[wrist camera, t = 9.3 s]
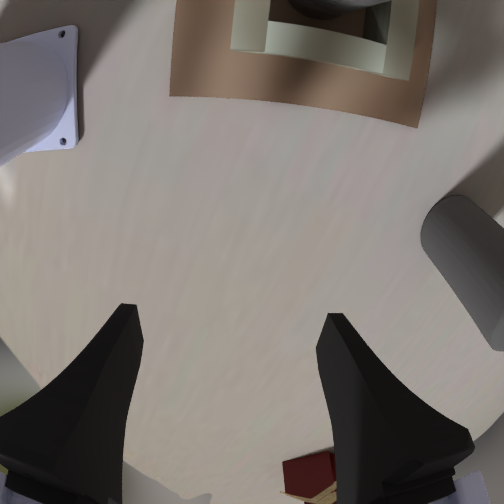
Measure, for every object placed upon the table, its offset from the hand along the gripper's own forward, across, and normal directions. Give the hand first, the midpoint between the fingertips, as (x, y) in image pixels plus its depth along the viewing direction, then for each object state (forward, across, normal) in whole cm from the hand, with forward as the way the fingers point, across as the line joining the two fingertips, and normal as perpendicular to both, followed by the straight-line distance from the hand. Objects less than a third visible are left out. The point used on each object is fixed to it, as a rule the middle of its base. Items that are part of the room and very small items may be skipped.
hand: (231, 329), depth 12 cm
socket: (+10, -4, -14) cm, 18 cm away
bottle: (+11, -17, 0) cm, 20 cm away
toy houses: (+11, -29, +62) cm, 69 cm away
